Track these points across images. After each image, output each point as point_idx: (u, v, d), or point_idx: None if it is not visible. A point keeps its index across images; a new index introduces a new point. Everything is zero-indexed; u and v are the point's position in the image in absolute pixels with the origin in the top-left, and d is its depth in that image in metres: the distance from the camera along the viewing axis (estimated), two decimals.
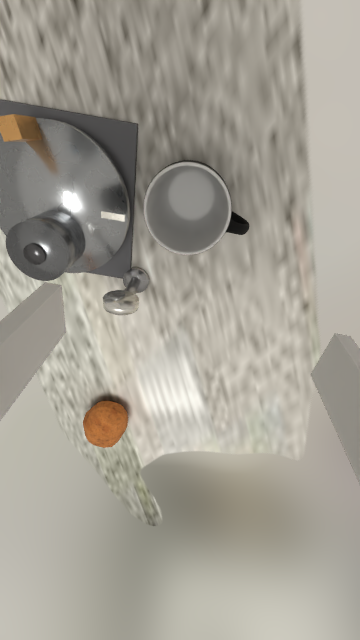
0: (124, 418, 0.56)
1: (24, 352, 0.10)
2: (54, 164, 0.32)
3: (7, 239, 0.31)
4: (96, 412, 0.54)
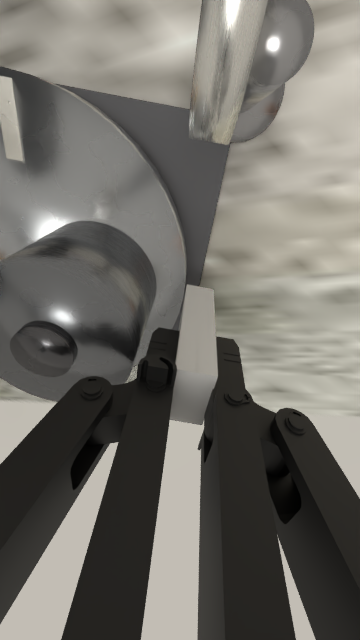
0: None
1: None
2: None
3: (33, 392, 0.13)
4: None
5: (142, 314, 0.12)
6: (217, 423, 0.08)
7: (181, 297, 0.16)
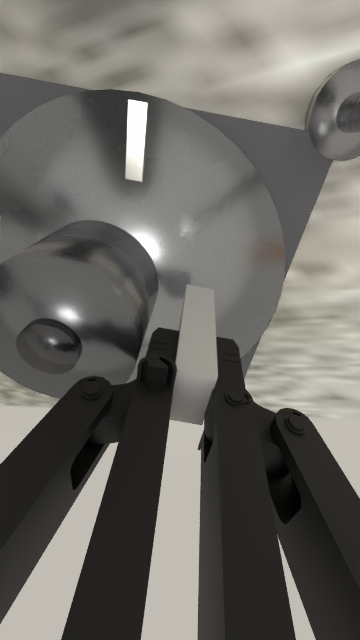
0: None
1: None
2: None
3: (37, 389, 0.13)
4: None
5: (145, 312, 0.13)
6: (217, 423, 0.08)
7: (273, 311, 0.16)
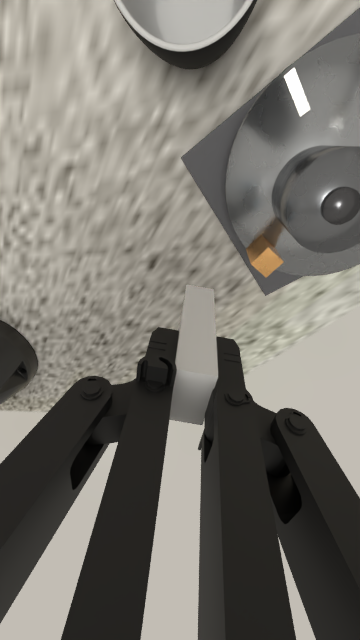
0: None
1: None
2: None
3: (338, 249, 0.21)
4: None
5: None
6: (217, 423, 0.08)
7: None
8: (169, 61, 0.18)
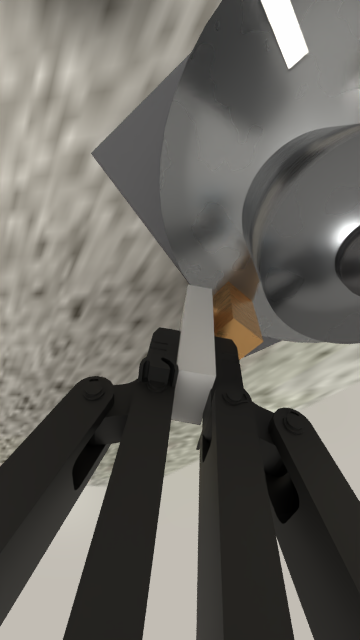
0: None
1: None
2: None
3: None
4: None
5: None
6: (215, 423, 0.08)
7: None
8: None
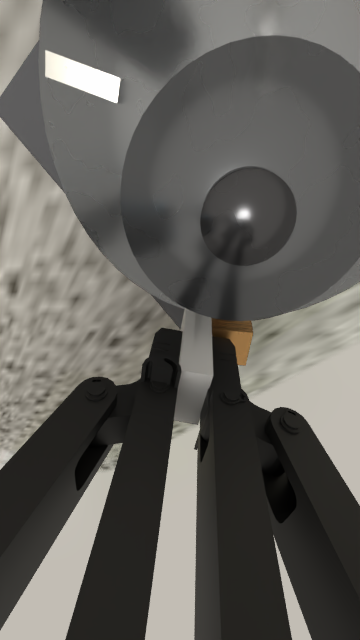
0: None
1: None
2: None
3: (326, 285, 0.08)
4: None
5: None
6: (213, 423, 0.08)
7: None
8: None
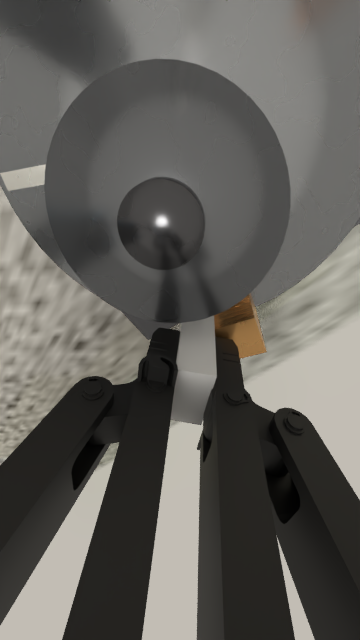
0: None
1: None
2: None
3: (276, 246, 0.08)
4: None
5: None
6: (216, 423, 0.08)
7: None
8: None
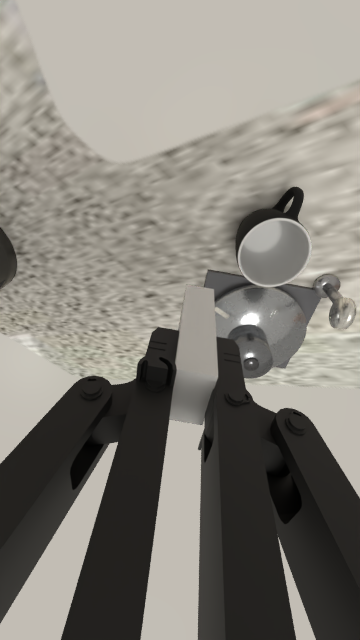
0: None
1: None
2: None
3: (260, 375, 0.45)
4: None
5: (260, 339, 0.44)
6: (217, 423, 0.08)
7: (292, 300, 0.44)
8: None
